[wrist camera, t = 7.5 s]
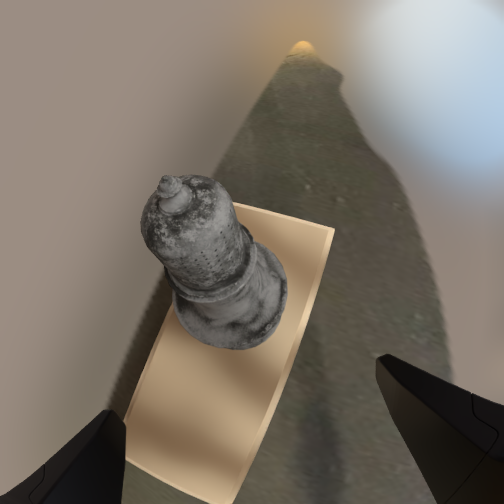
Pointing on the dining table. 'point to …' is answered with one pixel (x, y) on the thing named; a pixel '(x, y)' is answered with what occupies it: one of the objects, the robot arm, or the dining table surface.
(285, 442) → the dining table surface
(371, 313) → the dining table surface
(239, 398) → the tan wooden block
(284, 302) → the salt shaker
